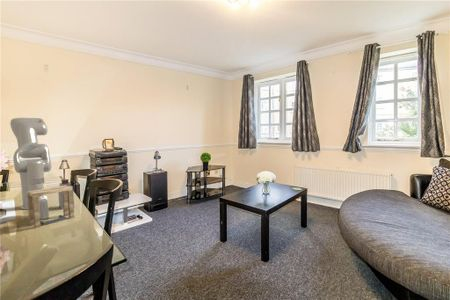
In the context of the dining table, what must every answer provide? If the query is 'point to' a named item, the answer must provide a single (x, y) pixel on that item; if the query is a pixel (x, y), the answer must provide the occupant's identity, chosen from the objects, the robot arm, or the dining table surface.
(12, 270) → the dining table surface
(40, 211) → the photo printer
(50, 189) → the wooden display stand
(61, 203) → the beige rectangular block
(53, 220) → the seat guides
